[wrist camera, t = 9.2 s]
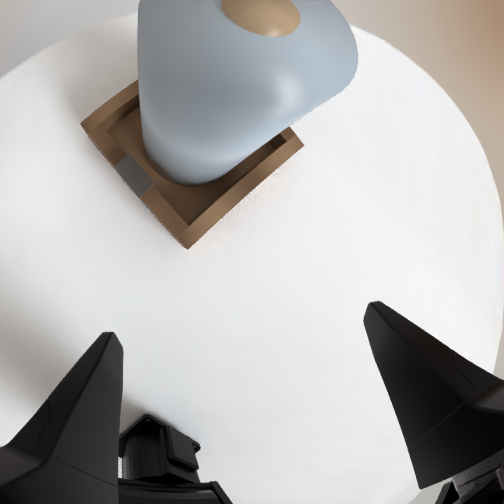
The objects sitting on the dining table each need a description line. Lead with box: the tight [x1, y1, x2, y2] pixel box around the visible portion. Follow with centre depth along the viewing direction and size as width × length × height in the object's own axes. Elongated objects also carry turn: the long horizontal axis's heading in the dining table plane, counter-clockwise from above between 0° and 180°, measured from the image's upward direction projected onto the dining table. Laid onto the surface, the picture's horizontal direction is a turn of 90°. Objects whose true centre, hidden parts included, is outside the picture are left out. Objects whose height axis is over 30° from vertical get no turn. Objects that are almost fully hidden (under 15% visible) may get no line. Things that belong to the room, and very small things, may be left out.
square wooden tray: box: [80, 80, 304, 249], centre depth 17 cm, size 11×11×4 cm
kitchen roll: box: [138, 0, 358, 186], centre depth 11 cm, size 7×7×13 cm
